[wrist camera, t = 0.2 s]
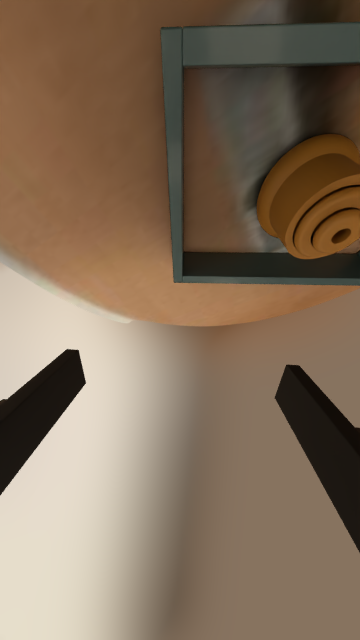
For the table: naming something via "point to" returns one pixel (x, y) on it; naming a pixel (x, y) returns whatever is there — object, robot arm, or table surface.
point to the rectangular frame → (178, 53)
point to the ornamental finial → (313, 197)
